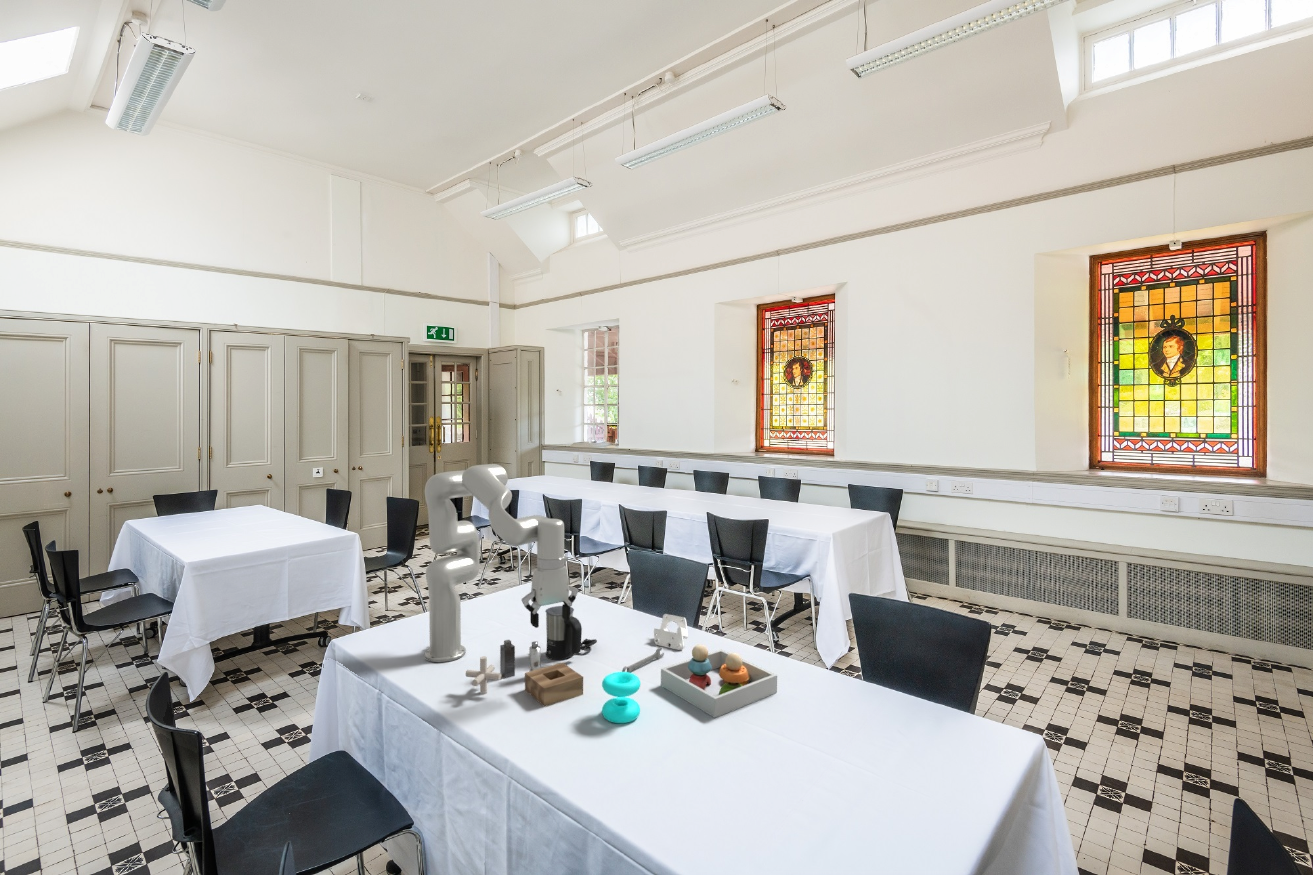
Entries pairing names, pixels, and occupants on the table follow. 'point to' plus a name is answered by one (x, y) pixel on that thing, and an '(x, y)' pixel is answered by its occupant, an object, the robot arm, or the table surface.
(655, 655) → the combination wrench
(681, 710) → the table surface
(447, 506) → the robot arm
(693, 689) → the parts tray
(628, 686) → the donuts
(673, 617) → the mounting bracket
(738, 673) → the stacking toy figures
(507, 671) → the square bit
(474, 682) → the pipe connector
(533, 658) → the round bit
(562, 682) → the socket block
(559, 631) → the milk frother
